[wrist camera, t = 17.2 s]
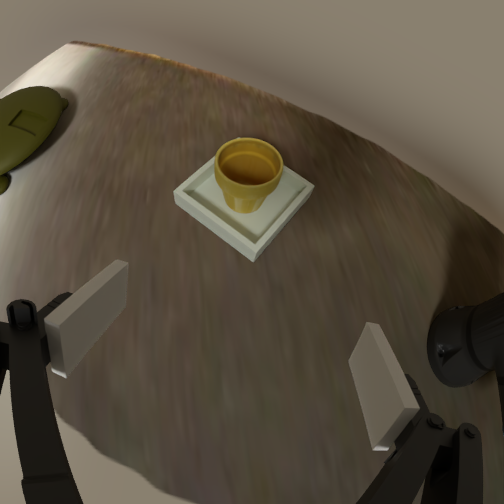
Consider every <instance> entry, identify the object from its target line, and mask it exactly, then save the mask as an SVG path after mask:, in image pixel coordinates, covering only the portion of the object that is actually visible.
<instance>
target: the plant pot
mask: <svg viewBox="0 0 504 504" xmlns="http://www.w3.org/2000/svg"><path fill="white" fill-rule="evenodd" d="M283 166H284V165H283V159H282V157H281V155H280V153H279V152H278V151H277V150H276V149H275V148H274V147H273V146H272V145H270V144H269V143H267V142H265V141H262V140H259V139H255V138H238V139H234V140H231V141H229V142H227V143H225V144H224V145H223V146H221V147H220V149H219V150H218V151H217V153H216V156H215V161H214V174H215V179H216V182H217V184H218V185H219V187H220V188H221V189H222V192H223V196H224V199H225V202H226V204H227V205H228V207H229V208H231V209H232V210H233V211H235V212H238V213H243V214H247V213H252V212H254V211H256V210H258V209H259V208H260V206H261V205H262V203H263V202H264V200H265V199H266V197H267V196H268V195H269V194H271V193H272V192H273V191H274V190H275V189H276V188H277V186H278V184H279V182H280V179H281V176H282V172H283Z"/></svg>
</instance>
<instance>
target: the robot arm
mask: <svg viewBox="0 0 504 504" xmlns="http://www.w3.org/2000/svg"><path fill="white" fill-rule="evenodd" d="M128 268H129V263H127V262H124V261H121V260H117V259H116V260H115V261H114V262H112V263H111V264H110V265H109V266H107V267H106V268H105V269H104V270H102V271H101V272H100V273H98V274H97V275H96V276H95V277H93V278H92V279H91V280H90V281H88V282H87V283H86V284H85V285H83V286H82V287H81V288H80V289H79V290H77V291H76V292H75V293H74V294H72V293H69V292H66V293H63V294H60V295H58V296H57V297H56V298H54V299H53V300H52V301H51V302H49V303H48V304H47V305H46V306H44V307H43V308H42V309H41V310H40V311H38V312H37V310H36V306H35V304H34V303H33V302H32V301H29V300H24V299H20V300H15V301H13V302H11V303H10V304H9V305H8V306H7V309H6V310H7V316H8V321H9V323H5V322H0V394H1V390H2V386H3V382H4V378H5V374H6V370H9V371H10V389H11V402H12V412H13V420H14V427H15V435H16V440H17V447H18V452H19V458H20V462H21V467H22V472H23V480H22V482H21V483H22V489H23V494H24V497H25V501H26V504H83V501H82V499H81V496H80V494H79V491H78V489H77V486H76V483H75V481H74V478H73V475H72V472H71V469H70V466H69V463H68V460H67V457H66V454H65V450H64V447H63V444H62V440H61V436H60V432H59V429H58V425H57V421H56V417H55V412H54V408H53V403H52V399H51V394H50V389H49V383H48V378H47V372H46V366H47V365H48V364H49V362H51V368H52V372H54V373H56V374H58V375H61V376H63V377H65V378H67V377H68V376H69V375H70V373H71V372H72V371H73V369H74V368H75V367H76V366H77V364H78V363H79V362H80V361H81V360H82V358H83V357H84V356H85V355H86V353H87V352H88V351H89V350H90V349H91V347H92V346H93V345H94V344H95V342H96V341H97V340H98V339H99V338H100V336H101V335H102V334H103V333H104V332H105V330H106V329H107V328H108V327H109V326H110V325H111V323H112V322H113V321H114V320H115V319H116V318H117V316H118V315H119V314H120V313H121V312H122V311H123V309H124V308H125V307H126V294H127V280H128ZM427 349H428V357H429V362H430V365H431V368H432V370H433V372H434V374H435V375H436V377H437V378H438V379H439V380H440V381H441V382H442V383H443V384H445V385H447V386H449V387H462V386H467V385H470V384H472V383H473V382H475V381H476V380H478V379H479V378H480V377H482V376H483V375H485V374H486V373H488V372H489V371H492V370H495V371H496V376H497V382H498V389H499V396H500V404H501V412H502V422H503V426H502V431H503V435H504V292H503V293H501V294H499V295H497V296H496V297H494V298H492V299H490V300H488V301H485V302H483V303H482V304H479V305H477V306H455V307H452V308H450V309H448V310H446V311H444V312H442V313H441V314H439V315H438V316H437V317H436V319H435V320H434V322H433V324H432V326H431V328H430V331H429V335H428V343H427ZM348 362H349V365H350V368H351V372H352V375H353V379H354V382H355V386H356V389H357V393H358V397H359V400H360V404H361V407H362V411H363V415H364V419H365V422H366V426H367V430H368V434H369V438H370V442H371V446H372V450H388V449H389V448H390V446H391V445H392V444H393V443H394V442H395V446H396V449H395V451H394V452H393V453H392V454H391V455H390V456H389V457H388V459H387V460H386V461H385V462H384V463H385V465H384V466H383V468H382V469H381V471H380V472H379V474H378V475H377V476H376V478H375V479H374V481H373V482H372V483H371V485H370V486H369V487H368V489H367V490H366V491H365V493H364V494H363V495H362V497H361V498H360V499H359V500H358V502H357V503H356V504H412V502H413V500H414V499H415V497H416V495H417V493H418V491H419V489H420V487H421V485H422V483H423V481H424V479H425V483H424V489H423V494H422V499H421V504H483V459H482V442H481V434H480V432H479V430H478V429H477V427H475V426H474V425H472V424H470V423H462V424H461V425H460V426H459V428H458V429H457V430H456V429H452V428H448V427H446V425H445V422H444V421H443V419H442V418H441V417H439V416H438V415H436V414H434V413H430V412H429V409H428V407H427V405H426V403H425V401H424V399H423V397H422V395H421V393H420V391H419V390H418V387H417V385H416V383H415V381H414V380H413V379H412V378H411V377H410V376H409V375H408V374H404V373H403V371H402V369H401V367H400V365H399V363H398V361H397V359H396V357H395V355H394V353H393V351H392V349H391V347H390V345H389V343H388V341H387V339H386V337H385V335H384V333H383V331H382V329H381V327H380V326H379V324H374V323H370V322H367V323H366V325H365V327H364V330H363V332H362V334H361V336H360V338H359V340H358V342H357V345H356V347H355V349H354V351H353V353H352V355H351V357H350V359H349V361H348Z"/></svg>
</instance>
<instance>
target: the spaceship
mask: <svg viewBox="0 0 504 504" xmlns="http://www.w3.org/2000/svg"><path fill="white" fill-rule="evenodd" d="M67 106H68V100H67V99H64V98H61V96H60V94H59V93H58V92H57V91H55V90H54V89H51V88H49V87H44V86H34V87H28V88H24V89H21V90H18V91H15V92H13V93H11V94H9V95H7V96H5V97H4V98H2V99H0V195H1V194H3V193H4V192H5V190H6V189H7V187H8V182H9V181H8V178H7V177H6V176H3V175H2V174H4V173H6V172H8V171H9V170H11V169H12V168H14V167H15V166H17V165H18V164H20V163H21V162H22V161H23V160H25V159H26V158H27V157H28V156H29V155H31V154H32V153H33V152H34V151H35V150H36V149H37V148H38V147H39V146H40V145H41V144H42V143H43V141H44V140H45V139H46V138H47V137H48V136H49V134H50V133H51V132H52V130H53V129H54V127H55V126H56V124H57V122H58V120H59V118H60V116H61V112H62V111H63V110H64V109H65V108H66V107H67Z"/></svg>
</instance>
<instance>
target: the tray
mask: <svg viewBox="0 0 504 504" xmlns="http://www.w3.org/2000/svg"><path fill="white" fill-rule="evenodd" d="M238 138H239V137H238ZM238 138H237V139H238ZM214 161H215V156H214V157H213V158H212V159H211V160H210V161H208V162H207V163H206V164H205V165H204V166H202V167H201V168H200V169H199V170H198V171H196V172H195V173H194V174H193V175H192V176H190V177H189V178H188V179H187V180H186V181H185V182H183V183H182V184H181V185H180V186H179V187H178V188H177V189H175V190H174V198H175V203H176V204H177V205H178V206H180V207H181V208H182V209H184V210H185V211H186V212H188V213H189V214H190V215H191V216H193V217H194V218H195V219H197V220H198V221H199V222H201V223H202V224H203V225H205V226H206V227H207V228H209V229H210V230H211V231H213V232H214V233H215V234H217V235H218V236H219V237H221V238H222V239H223V240H224V241H226V242H227V243H228V244H230V245H231V246H232V247H234V248H235V249H236V250H238V251H239V252H240V253H242V254H243V255H244V256H246V257H247V258H248V259H250V260H251V261H252V262H254V261H255V260H256V259H257V258H258V257H259V255H260V254H261V253H262V252H263V251H264V250H265V248H266V247H267V246H268V245H269V244H270V243H271V242H272V240H273V239H274V238H275V237H276V236H277V235H278V233H279V232H280V231H281V230H282V229H283V228H284V226H285V225H286V224H287V223H288V222H289V221H290V219H291V218H292V217H293V216H294V215H295V214H296V212H297V211H298V210H299V209H300V208H301V206H302V205H303V204H304V203H305V202H306V201H307V199H308V198H309V197H310V195H311V193H312V191H313V188H314V185H313V184H311V183H310V182H308V181H307V180H305V179H304V178H302V177H301V176H299V175H298V174H296V173H295V172H293V171H292V170H290V169H289V168H287V167H286V166H283V172H282V176H281V179H280V182H279V184H278V186H277V188H276V189H275V190H274V191H273V192H272V193H271V194H269V195H268V196H267V197H266V199H265V200H264V202H263V203H262V205H261V206H260V208H259V209H258V210H256V211H254V212H252V213H247V214H243V213H238V212H235V211H233V210H232V209H231V208H229V207H228V205H227V204H226V202H225V199H224V196H223V192H222V189H221V188H220V187H219V185H218V184H217V182H216V179H215V174H214Z"/></svg>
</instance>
